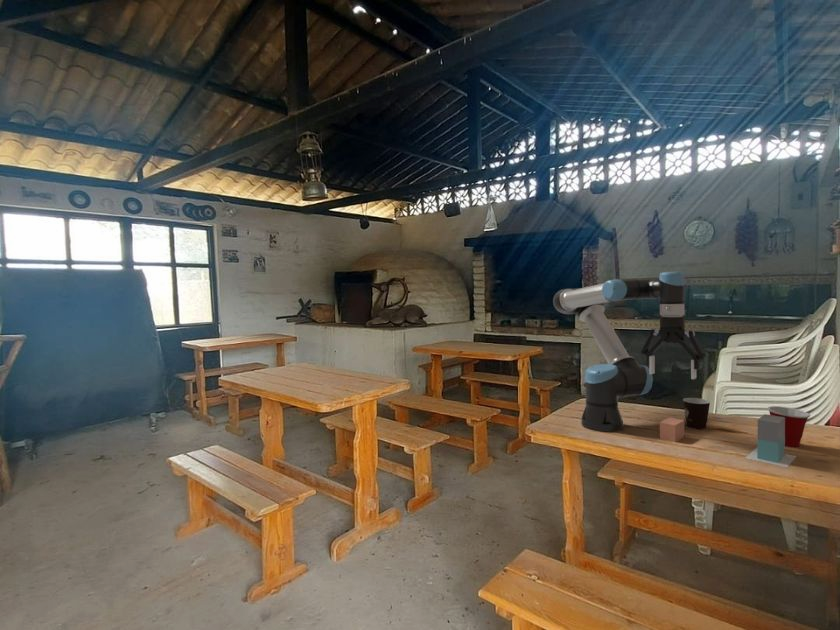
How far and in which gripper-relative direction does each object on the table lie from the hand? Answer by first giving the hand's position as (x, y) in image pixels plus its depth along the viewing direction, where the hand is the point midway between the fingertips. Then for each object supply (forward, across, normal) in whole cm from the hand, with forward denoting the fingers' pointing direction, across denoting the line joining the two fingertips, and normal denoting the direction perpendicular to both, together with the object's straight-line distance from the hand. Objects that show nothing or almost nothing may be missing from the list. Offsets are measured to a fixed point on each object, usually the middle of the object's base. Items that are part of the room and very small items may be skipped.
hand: (672, 376), depth 155 cm
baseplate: (+22, +28, 0) cm, 36 cm away
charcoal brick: (+15, +28, 0) cm, 32 cm away
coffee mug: (+22, +1, +20) cm, 30 cm away
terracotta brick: (+22, 0, 0) cm, 22 cm away
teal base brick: (+21, +28, 0) cm, 35 cm away
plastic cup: (+22, +29, +17) cm, 40 cm away
